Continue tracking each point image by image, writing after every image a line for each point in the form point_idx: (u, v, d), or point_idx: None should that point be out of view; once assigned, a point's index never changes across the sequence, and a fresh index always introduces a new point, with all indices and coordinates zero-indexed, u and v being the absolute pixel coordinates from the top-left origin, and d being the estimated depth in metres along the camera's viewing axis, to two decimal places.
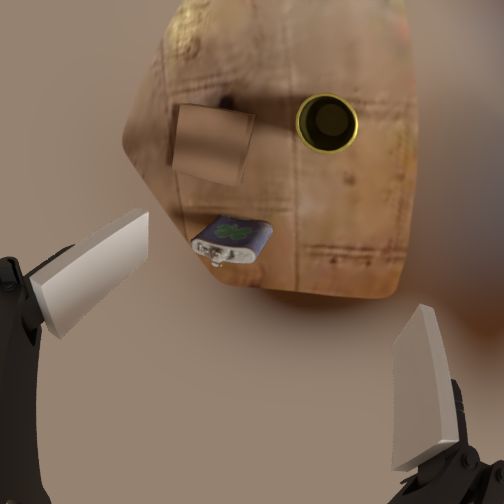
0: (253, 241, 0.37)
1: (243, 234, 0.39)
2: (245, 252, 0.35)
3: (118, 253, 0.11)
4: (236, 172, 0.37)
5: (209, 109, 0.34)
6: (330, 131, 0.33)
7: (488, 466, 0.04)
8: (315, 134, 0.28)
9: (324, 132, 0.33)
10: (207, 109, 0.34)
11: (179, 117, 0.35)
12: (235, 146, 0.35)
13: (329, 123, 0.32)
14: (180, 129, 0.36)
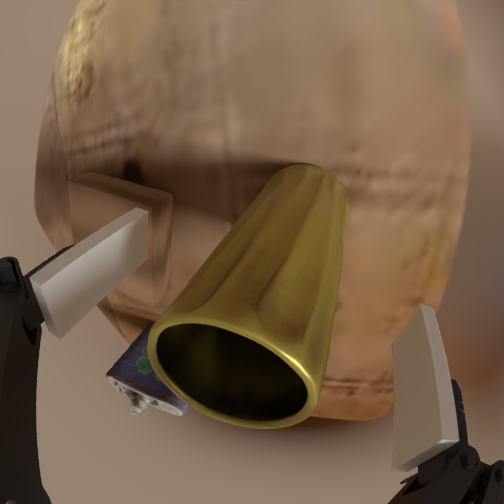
0: None
1: None
2: (169, 406, 0.22)
3: (118, 253, 0.11)
4: (151, 289, 0.24)
5: (99, 192, 0.20)
6: None
7: (488, 466, 0.04)
8: None
9: None
10: (97, 192, 0.20)
11: (70, 200, 0.22)
12: None
13: None
14: (74, 218, 0.23)
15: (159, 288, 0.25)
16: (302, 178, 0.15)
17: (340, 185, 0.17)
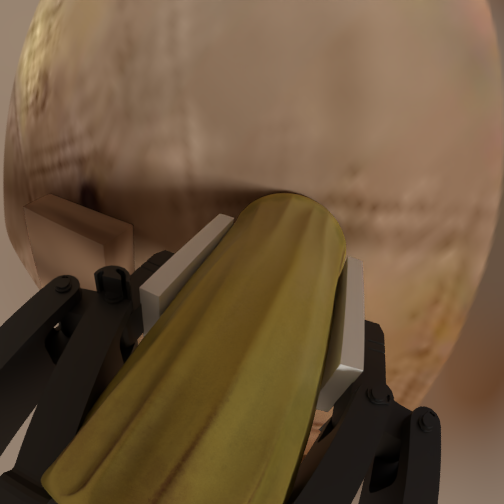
0: None
1: None
2: None
3: None
4: None
5: (52, 223, 0.16)
6: None
7: (407, 415, 0.06)
8: None
9: None
10: (50, 222, 0.16)
11: (28, 228, 0.18)
12: None
13: None
14: (34, 247, 0.19)
15: None
16: (279, 219, 0.11)
17: (334, 221, 0.13)
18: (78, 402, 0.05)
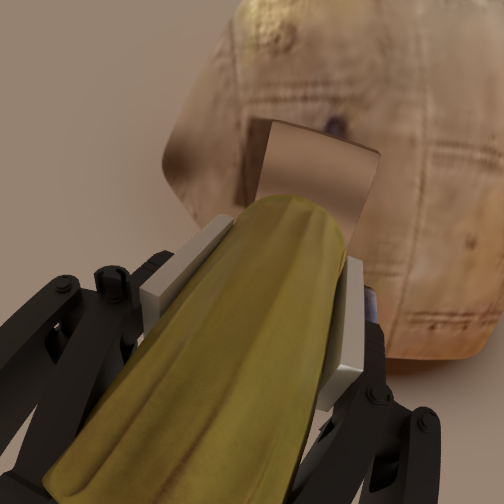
0: None
1: None
2: None
3: None
4: (352, 231, 0.26)
5: (321, 136, 0.23)
6: None
7: (407, 415, 0.06)
8: None
9: None
10: (318, 136, 0.23)
11: (270, 141, 0.25)
12: (356, 196, 0.24)
13: None
14: (270, 160, 0.25)
15: None
16: (279, 220, 0.11)
17: (334, 223, 0.13)
18: (79, 402, 0.05)
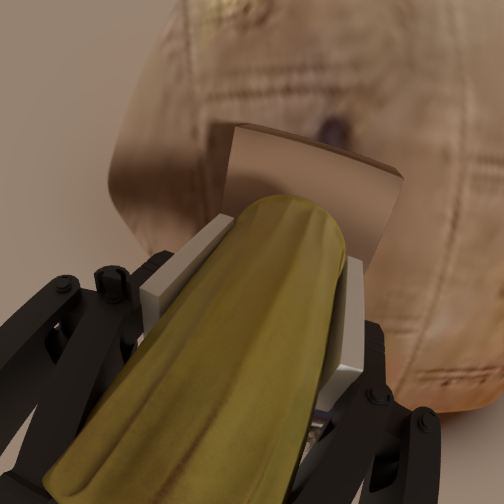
0: None
1: None
2: None
3: None
4: None
5: (311, 149, 0.15)
6: None
7: (407, 415, 0.06)
8: None
9: None
10: (306, 148, 0.15)
11: (232, 158, 0.16)
12: (363, 241, 0.16)
13: None
14: (234, 186, 0.17)
15: None
16: (279, 220, 0.11)
17: (334, 223, 0.13)
18: (79, 401, 0.05)
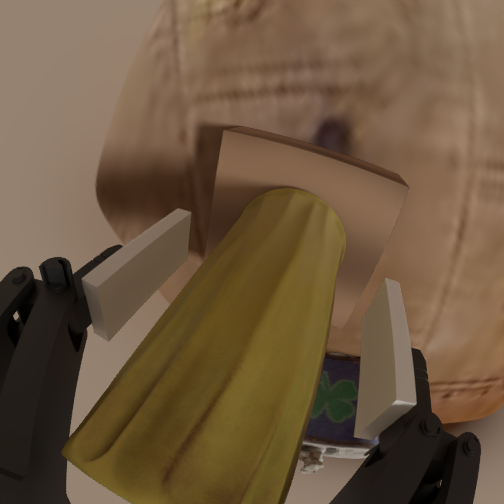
0: None
1: (347, 403, 0.18)
2: (360, 450, 0.15)
3: (164, 253, 0.12)
4: (353, 305, 0.17)
5: (307, 154, 0.13)
6: None
7: (453, 439, 0.06)
8: None
9: None
10: (301, 153, 0.14)
11: (220, 164, 0.15)
12: (363, 254, 0.15)
13: None
14: (223, 195, 0.16)
15: None
16: (283, 212, 0.12)
17: (334, 215, 0.14)
18: (35, 385, 0.05)
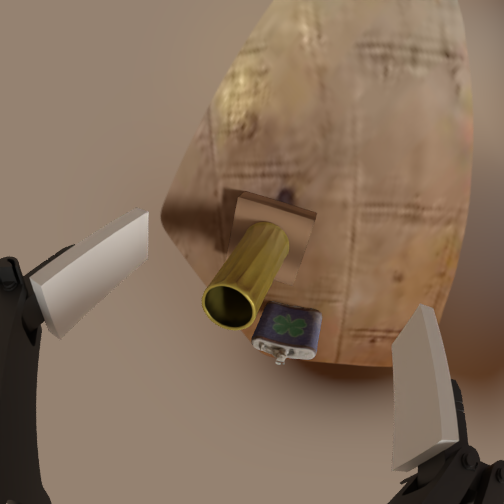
0: (312, 338, 0.38)
1: (300, 329, 0.40)
2: (306, 351, 0.36)
3: (118, 253, 0.11)
4: (296, 273, 0.38)
5: (272, 208, 0.35)
6: None
7: (488, 466, 0.04)
8: None
9: None
10: (269, 208, 0.35)
11: (236, 211, 0.37)
12: (298, 249, 0.36)
13: None
14: (237, 224, 0.37)
15: None
16: (261, 232, 0.33)
17: (283, 232, 0.36)
18: None
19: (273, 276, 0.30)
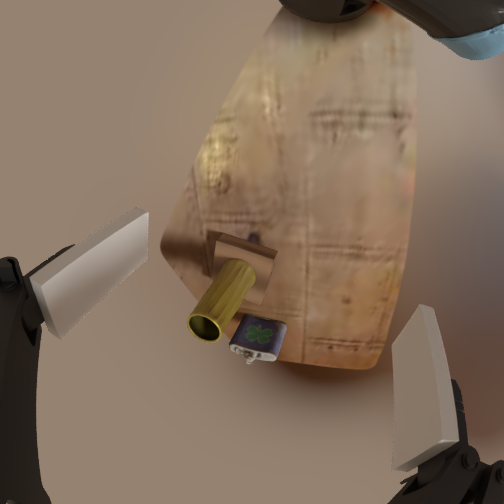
0: (274, 345, 0.50)
1: (266, 337, 0.52)
2: (269, 355, 0.48)
3: (118, 253, 0.11)
4: (262, 296, 0.50)
5: (241, 249, 0.47)
6: None
7: (488, 466, 0.04)
8: None
9: None
10: (240, 249, 0.47)
11: (215, 250, 0.48)
12: (262, 279, 0.48)
13: None
14: (216, 259, 0.49)
15: (264, 295, 0.51)
16: (232, 269, 0.45)
17: (250, 268, 0.47)
18: None
19: (238, 304, 0.42)
